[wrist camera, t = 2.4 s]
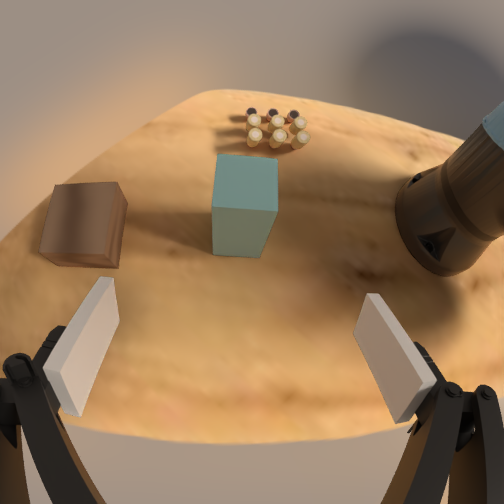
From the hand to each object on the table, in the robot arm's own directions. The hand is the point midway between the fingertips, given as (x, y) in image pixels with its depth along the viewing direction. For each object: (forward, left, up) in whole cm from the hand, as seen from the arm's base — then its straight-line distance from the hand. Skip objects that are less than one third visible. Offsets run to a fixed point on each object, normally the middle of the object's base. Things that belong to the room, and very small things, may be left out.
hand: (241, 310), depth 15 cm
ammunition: (-4, -25, -17) cm, 31 cm away
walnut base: (+17, -10, -16) cm, 25 cm away
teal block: (0, -11, -16) cm, 20 cm away
